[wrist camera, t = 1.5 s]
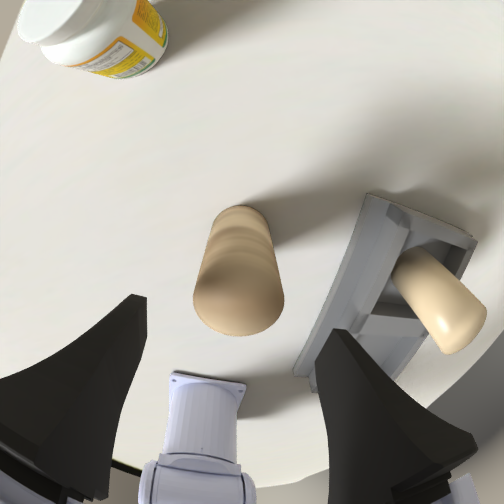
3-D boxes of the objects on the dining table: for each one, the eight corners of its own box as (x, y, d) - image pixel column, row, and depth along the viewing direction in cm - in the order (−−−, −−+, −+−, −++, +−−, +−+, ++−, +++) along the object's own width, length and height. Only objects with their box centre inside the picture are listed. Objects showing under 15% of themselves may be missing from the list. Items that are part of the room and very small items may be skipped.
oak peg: (261, 263, 20) (270, 341, 13) (207, 253, 20) (189, 328, 12) (275, 212, 18) (295, 272, 11) (217, 200, 18) (199, 254, 11)
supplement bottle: (142, 91, 14) (53, 72, 6) (86, 67, 13) (-9, 51, 4) (186, 25, 12) (138, -48, 4) (126, 5, 11) (55, -49, 2)
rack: (386, 371, 27) (413, 432, 19) (292, 368, 26) (306, 447, 17) (466, 231, 19) (530, 280, 11) (366, 193, 18) (443, 247, 10)
